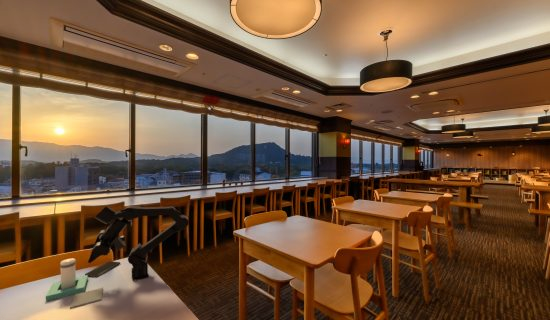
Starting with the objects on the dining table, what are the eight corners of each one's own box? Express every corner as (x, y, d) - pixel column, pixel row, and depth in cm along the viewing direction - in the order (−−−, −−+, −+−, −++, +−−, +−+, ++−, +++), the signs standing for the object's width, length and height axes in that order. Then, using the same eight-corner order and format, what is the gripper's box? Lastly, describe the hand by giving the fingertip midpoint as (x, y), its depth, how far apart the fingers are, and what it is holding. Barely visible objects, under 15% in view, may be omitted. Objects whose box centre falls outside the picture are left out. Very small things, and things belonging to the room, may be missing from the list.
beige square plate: (102, 288, 106) (102, 287, 106) (101, 300, 98) (101, 298, 98) (74, 295, 100) (74, 294, 100) (69, 308, 92) (69, 307, 92)
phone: (121, 262, 131) (97, 275, 116) (121, 264, 131) (97, 278, 116) (109, 261, 132) (83, 274, 117) (109, 263, 132) (83, 276, 117)
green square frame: (87, 279, 114) (87, 274, 114) (84, 291, 104) (84, 287, 104) (53, 286, 107) (53, 282, 107) (45, 301, 97) (45, 296, 97)
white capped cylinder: (76, 284, 109) (76, 257, 109) (74, 290, 105) (74, 261, 105) (62, 288, 106) (61, 260, 106) (59, 293, 102) (59, 264, 102)
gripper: (130, 244, 108) (105, 275, 104) (131, 229, 124) (109, 255, 120) (106, 233, 103) (79, 265, 99) (110, 219, 119) (87, 246, 115)
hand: (90, 257), depth 108 cm, fingers open, 9 cm apart
